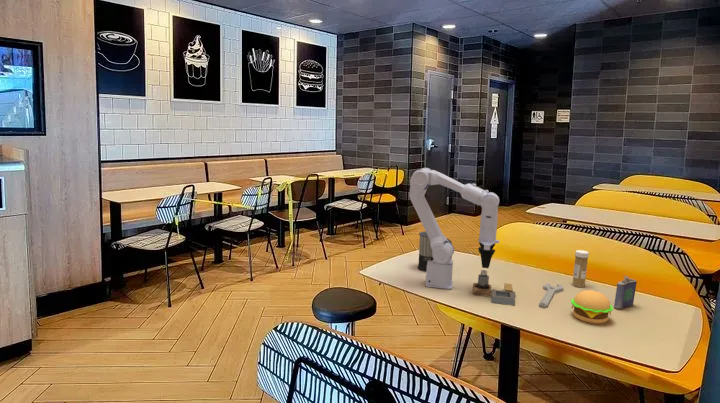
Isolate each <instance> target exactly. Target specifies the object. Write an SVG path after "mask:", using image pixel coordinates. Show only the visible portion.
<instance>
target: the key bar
mask: <svg viewBox="0 0 720 403" xmlns="http://www.w3.org/2000/svg"><path fill="white" fill-rule="evenodd" d="M503 290H504V291H509V292H513V291H514V290H513V284H512V283H505V282H504V287H503Z"/></svg>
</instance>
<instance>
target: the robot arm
mask: <svg viewBox="0 0 720 403" xmlns="http://www.w3.org/2000/svg"><path fill="white" fill-rule="evenodd" d="M409 184H410V186H409V193H408V194H409V196H408V197H409V200H410V201H411V204H412V206H413V208H414V209H415V211H416V213H417V216H418V218H419V220H420V223H421V224H422V227H423V228H424V232H426V233H427V235H428V237H429V239H430V243H431V249H432V251H433V261H428V262H427V271H425V272H426V273H425V287H427V288H434V289H435V288H436V289H445V290H452V289H453V285H454V281H453V280H452V279H453V266H454V263H453V262H454V261H453V259H451V256H452V257H453V255H454V253H455V248H454V245H452V244H453V243H452V244H451V243H450V242H448V240H447V239H448V238H447V236H446V235H444V234H443V231H442V230H441V227H440V225H439V224H438V222H437V219H436V218H435V214H434V213H433V211H432V209H431V207H430V205H429V203H428V201H427V199H426V197H425V195H426V193H427V189H428V188H429V186H436V185H440V186H443V187H446V188H448V189H450V190H453V191H454V192H457V193H459V194H460V195H461V198H462V199H464V200H465V201H468V202H470V203H473V204H474V205H477V206H480V207H481V213H480V226H479V235H478V236H479V238H478V243H479V244H478V245H479V246H478V252H479V255H480V260H481V267H482V268H483V269H489V268H490V264H491V261H492V257H493V255H494V254H495V253H496V249H494V247H495V246H496V244H499V243H500V240H499V239H497V228H498V219H499V218H498V217H499V215H498V213H499V210H498V209H499V208H498V207H499V205H500V197H499V196H498V195H497V194H496V193H495V192H493V191H492V192H491V191H490V190H488V189H482V188H481V187H478V186H477V184H476V183H470V182H469V183H466V184H463V183H461V182H459V181H458V180H456V179H454V178H452V177H449V176H448V175H446V174H444V173H442V172H439V171H437V170H435V169H431V168H428V167H423V168H420V169H417V170H415V171H413V174H412V175H411V178H410V179H409ZM489 191H490V192H489Z"/></svg>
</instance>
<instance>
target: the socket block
mask: <svg viewBox="0 0 720 403" xmlns="http://www.w3.org/2000/svg"><path fill="white" fill-rule="evenodd" d="M516 297H517V295H516V291H514V290H513V292H509V291H504V289H503V290H502V289H501V290H500V289H491V296H490V303H491V304H502V305H507V306H515V304H516Z"/></svg>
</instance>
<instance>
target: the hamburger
mask: <svg viewBox="0 0 720 403" xmlns="http://www.w3.org/2000/svg"><path fill="white" fill-rule="evenodd" d="M570 303H571V309H572V313H573V316H574V317H575V318H577V319H578V320H580V321H582V322H584V323H588V324H589V323H590V324H604V323H607V321H608V320H609V316H611V315H612V311H613V310H614V306H613V305H612V304H611V302H610V299H609V298H608V297H607V296H606V295H605V294H603V293H602V292H598V291H596V290H588V289H587V290H583V291H580V292H578V293H577V294H576V295H575V296H574V298H572V299H571V300H570Z"/></svg>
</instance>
